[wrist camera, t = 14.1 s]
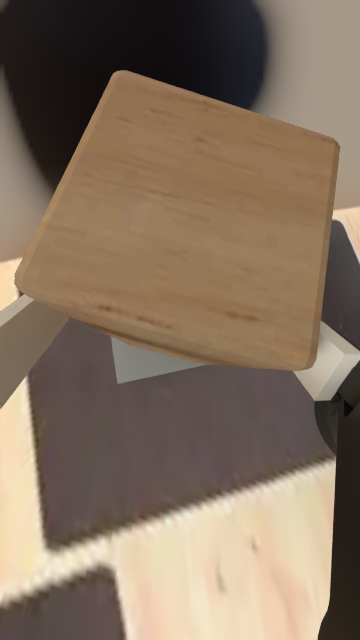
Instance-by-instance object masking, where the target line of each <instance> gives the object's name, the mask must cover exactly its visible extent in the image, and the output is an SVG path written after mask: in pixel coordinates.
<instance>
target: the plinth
mask: <svg viewBox="0 0 360 640" xmlns="http://www.w3.org/2000/svg"><path fill="white" fill-rule="evenodd" d="M111 340H112V347H113V355H114V362H115V369H116V376H117V383H118V384H119V383H124V382H128V381H133V380H138V379H142V378H147V377H152V376H156V375H161V374H166V373H170V372H175V371H180V370H184V369H189V368H194V367H198V366H203V365H207V364H200V363H194V362H190V361H187V360H183V359H179V358H176V357H172V356H168V355H165V354H161V353H158V352H154V351H150V350H147V349H143V348H139V347H136V346H132V345H128V344H126V343H124V342H122V341H120V340H118V339H116V338H113V337H111Z"/></svg>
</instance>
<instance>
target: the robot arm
mask: <svg viewBox="0 0 360 640" xmlns="http://www.w3.org/2000/svg"><path fill="white" fill-rule="evenodd" d="M68 320H69V317H68V315H66V314H64V313H61V312H59V311H57V310H55V309H53V308H51V307H49V306H47V305H45V304H43V303H41V302H39V301H37V300H34V299H32V298H30V297H28V296H27V295H25V294H24V295H23V296H21V297H20V298H19V299H17V300H16V301H14V302H13V303H12V304H10V305H9V306H7V307H6V308H5V309H3V310H2V311H0V409H1V408H2V407H3V405H4V404H5V403H6V401H7V400H8V399H9V397H10V396H11V395H12V394H13V392H14V391H15V390H16V388H17V387H18V386H19V384H20V383H21V382H22V380H23V379H24V378H25V376H26V375H27V374H28V373H29V371H30V370H31V369H32V367H33V366H34V365H35V363H36V362H37V361H38V359H39V358H40V357H41V355H42V354H43V353H44V352H45V350H46V349H47V348H48V346H49V345H50V344H51V342H52V341H53V340H54V338H55V337H56V336H57V334H58V333H59V332H60V331H61V329H62V328H63V327H64V325H65V324H66V323H67V321H68ZM293 372H294V373H295V375H296V376H297V377H298V379H299V380H300V382H301V383H302V384H303V386H304V387H305V388H306V390H307V391H308V393H309V394H310V395H311V397H312V398H313V399H314V401H315V416H316V421H317V425H318V428H319V430H320V433H321V435H322V437H323V439H324V441H325V442H326V444H327V445H328V446H329V448H330V449H331V450H332V451H333V452H334V453H335V454H336V477H335V499H334V521H333V542H332V564H331V586H330V600H329V606H328V610H327V612H326V614H325V616H324V618H323V620H322V623H321V626H320V630H319V634H318V640H360V349H359V348H358V347H357V346H355V345H354V344H353V343H351V342H350V341H348V339H346V338H345V337H344V336H342V335H341V334H340V333H339V332H338V331H336V330H335V329H334V328H332V327H330V326H328V325H326V324H325V323H324V322H322V321H321V323H320V332H319V341H318V350H317V359H316V361H315V363H314V365H313V367H312V368H310V369H307V370H301V371H293Z"/></svg>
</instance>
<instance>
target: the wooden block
mask: <svg viewBox="0 0 360 640" xmlns="http://www.w3.org/2000/svg"><path fill="white" fill-rule="evenodd" d="M339 152H340V146H339V144H338V142H337V141H336V140H334V138H332V137H329V136H325V135H322V134H319V133H316V132H313V131H310V130H307V129H304V128H301V127H298V126H295V125H292V124H289V123H285V122H283V121H279V120H276V119H273V118H270V117H267V116H264V115H261V114H258V113H255V112H252V111H249V110H246V109H243V108H239V107H237V106H233V105H230V104H227V103H224V102H221V101H218V100H215V99H212V98H209V97H205V96H203V95H200V94H197V93H193V92H190V91H187V90H184V89H181V88H178V87H175V86H172V85H169V84H166V83H163V82H160V81H156V80H154V79H151V78H147V77H144V76H141V75H138V74H135V73H132V72H129V71H126V70H123V71H117V72H115V73H113V75H112V77H111V79H110V82H109V84H108V86H107V88H106V90H105V92H104V94H103V96H102V98H101V100H100V102H99V104H98V106H97V108H96V110H95V112H94V114H93V116H92V118H91V120H90V122H89V124H88V126H87V129H86V130H85V132H84V134H83V136H82V138H81V141H80V143H79V145H78V147H77V149H76V151H75V153H74V155H73V157H72V159H71V161H70V163H69V165H68V167H67V169H66V171H65V173H64V175H63V177H62V179H61V181H60V183H59V185H58V188H57V190H56V191H55V194H54V195H53V198H52V200H51V202H50V204H49V206H48V208H47V210H46V212H45V214H44V216H43V218H42V220H41V222H40V224H39V226H38V228H37V230H36V232H35V234H34V236H33V238H32V240H31V243H30V245H29V246H28V248H27V250H26V252H25V255H24V257H23V259H22V261H21V263H20V265H19V267H18V269H17V271H16V273H15V283H14V284H15V285H16V287H17V288H18V289H19V290H20V291H22V292H23V293H24V294H25V295H27V296H28V297H30V298H32V299H34V300H37V301H39V302H41V303H43V304H45V305H47V306H49V307H51V308H53V309H55V310H57V311H59V312H61V313H64V314H66V315H68V316H70V317H72V318H74V319H76V320H78V321H80V322H82V323H84V324H86V325H89V326H91V327H93V328H95V329H97V330H99V331H101V332H103V333H105V334H107V335H109V336H111V337H113V338H116V339H118V340H120V341H122V342H124V343H126V344H128V345H132V346H136V347H139V348H143V349H147V350H150V351H154V352H158V353H161V354H165V355H168V356H172V357H176V358H179V359H183V360H187V361H190V362H194V363H200V364H212V365H225V366H238V367H250V368H263V369H275V370H288V371H301V370H307V369H310V368H312V367H313V365H314V363H315V361H316V359H317V350H318V341H319V332H320V323H321V314H322V305H323V296H324V287H325V278H326V269H327V260H328V251H329V242H330V233H331V224H332V215H333V205H334V197H335V188H336V179H337V170H338V161H339Z"/></svg>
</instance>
